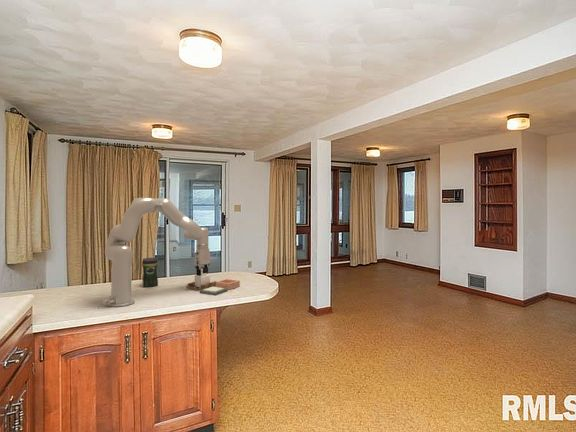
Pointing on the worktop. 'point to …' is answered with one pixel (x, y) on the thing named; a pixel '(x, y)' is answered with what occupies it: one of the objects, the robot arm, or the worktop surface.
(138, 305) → the worktop surface
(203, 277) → the medicine bottle
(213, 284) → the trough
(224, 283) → the reddish brown square tray
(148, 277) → the coffee jar
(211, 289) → the tester pad
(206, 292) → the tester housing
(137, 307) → the worktop surface
